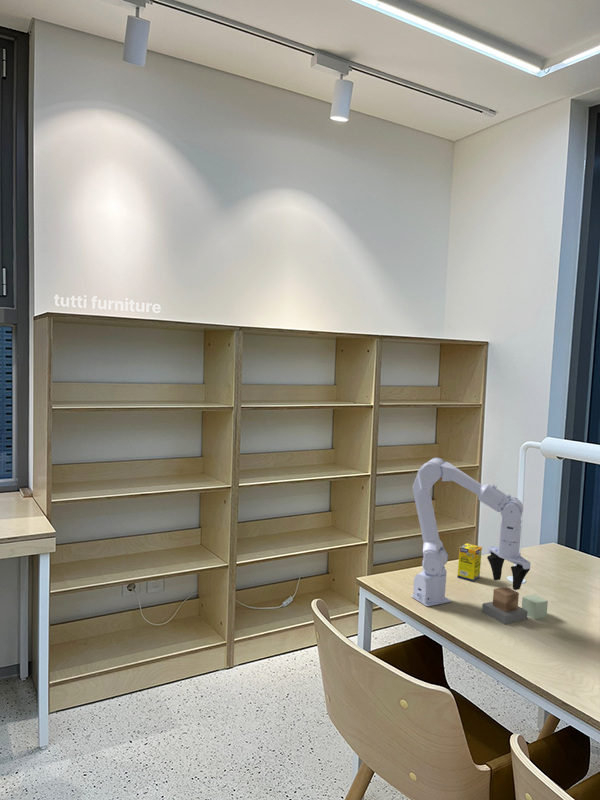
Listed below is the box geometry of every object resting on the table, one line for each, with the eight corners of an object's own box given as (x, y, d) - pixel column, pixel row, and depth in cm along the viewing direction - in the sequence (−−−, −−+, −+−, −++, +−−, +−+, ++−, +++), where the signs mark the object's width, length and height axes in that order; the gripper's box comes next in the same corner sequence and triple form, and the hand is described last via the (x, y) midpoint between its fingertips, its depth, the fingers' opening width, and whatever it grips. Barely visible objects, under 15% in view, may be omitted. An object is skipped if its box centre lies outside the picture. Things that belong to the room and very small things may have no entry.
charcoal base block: (504, 626, 171) (505, 616, 171) (481, 613, 179) (482, 603, 179) (526, 620, 175) (527, 611, 175) (503, 608, 183) (504, 599, 183)
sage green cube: (534, 619, 175) (535, 603, 175) (521, 612, 180) (522, 596, 179) (546, 616, 177) (547, 600, 177) (533, 610, 182) (534, 594, 181)
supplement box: (473, 582, 202) (476, 550, 201) (456, 577, 205) (459, 546, 204) (480, 577, 207) (482, 546, 206) (463, 572, 210) (465, 542, 209)
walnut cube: (505, 612, 174) (506, 595, 173) (492, 605, 178) (493, 589, 178) (517, 609, 176) (518, 592, 175) (504, 602, 180) (506, 586, 180)
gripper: (539, 545, 171) (535, 591, 172) (501, 531, 184) (498, 573, 185) (521, 548, 167) (517, 595, 169) (484, 533, 180) (481, 576, 182)
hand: (506, 584), depth 176 cm, fingers open, 7 cm apart
